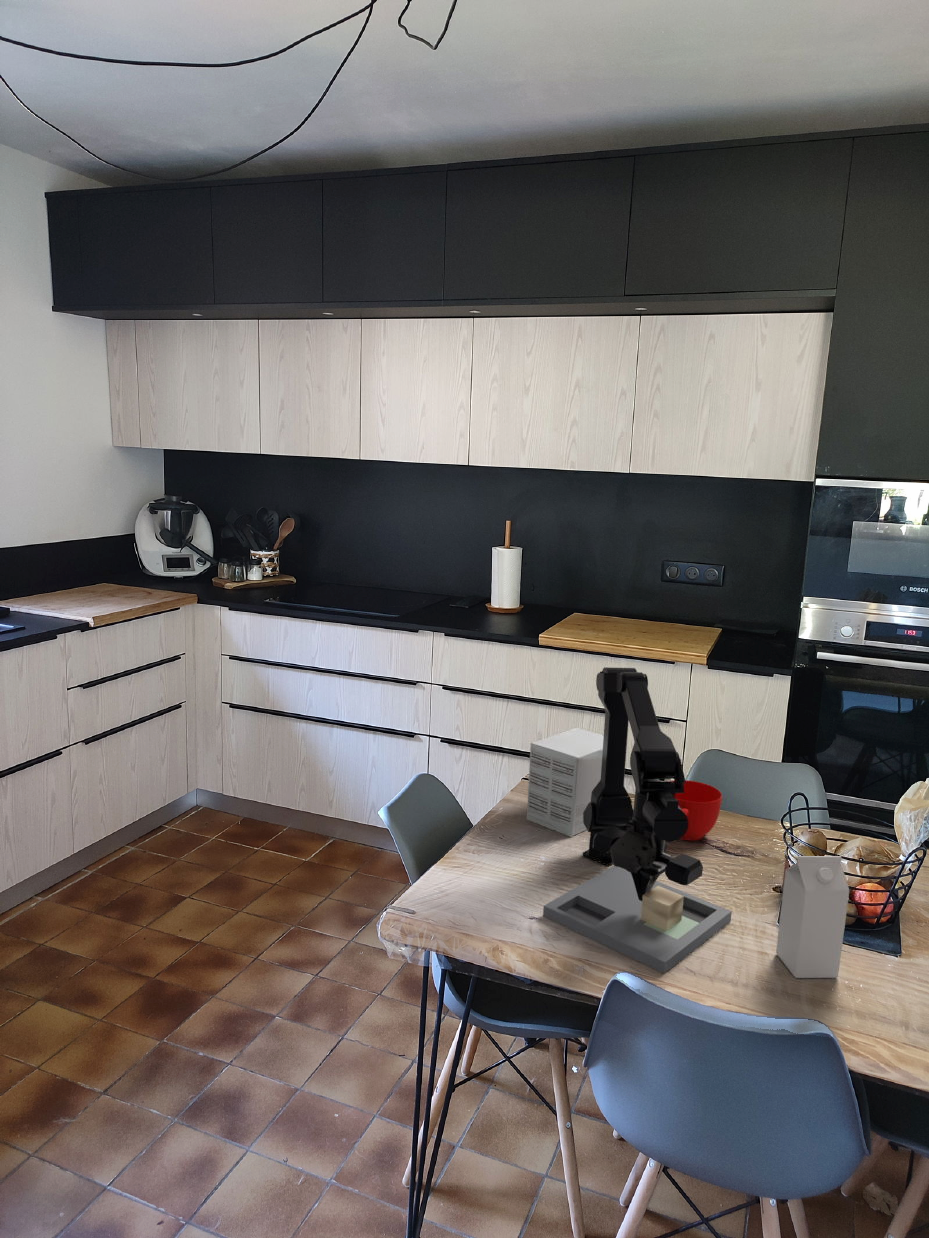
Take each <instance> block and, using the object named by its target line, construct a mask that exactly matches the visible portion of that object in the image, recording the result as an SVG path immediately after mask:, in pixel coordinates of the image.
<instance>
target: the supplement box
mask: <svg viewBox="0 0 929 1238" xmlns="http://www.w3.org/2000/svg"><path fill="white" fill-rule="evenodd" d="M603 738H604V734H603V735H602V734H600V733H596V732H592V731H590V730H589V731H588V730H585V729H583V728H579V727H574V728H571V729H569V730H566V731H563V732H560V733H557V734H555V735H554V734H553V735H551V736H548V737H545V738H542V739H540V740H536V741H534V742H530V749H529V750H530V751H529V752H530V753H529V766H528V767H529V771H528V772H529V773H528V787H527V808H526V809H527V811H526V820H527V821H530V822H533V823H535V824H537V825H540V826H542V827H544V826H545V828H548V829H550V830H551V831H554V830H555V831H554V832H557V833H560V834H562V835H563V836H564V835H565V836H567V837H570V838H572V837H573V836H576V835H578V834H580V833H583V832H585V831H588V830H587V829H586V827H585V825H584V823H583V812H584V810H585V809H586V807H587V805H588V803H589V802H591V793H592V791H593V789H594V788H595V787H596V785H597V784H598V783H599V781H600V780H601V767H602V753H603Z"/></svg>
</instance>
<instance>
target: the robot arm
mask: <svg viewBox="0 0 929 1238" xmlns="http://www.w3.org/2000/svg"><path fill="white" fill-rule="evenodd" d="M595 684H596V685H595V686H596V690H597V695H598V698H599V700H600V702H601V704H602V706H603V707H604V727H603V736H604V738H603V753H602V767H601V780H600V781H599V783H598V784H597V785H596V787H595V788H594V789H593V791H592V793H591V802H589V803H588V805H587V807H586V809H585V810H584V812H583V823H584V825H585V827H586V829H587V830H586V831H587V832H588V833H590V834H589V844H588V849H587V850H584V851H583V852H582V856H583V857H585V858H588V859H591V860H593V861H595V862H599V863H600V864H602V865H605V866H611V865H612V866H616V867H621V868H623V869H625V870H627V871H628V872H631V875H632V878H633V881H634V884H635V888H636V892H637V895H638V899H639V900H640V901H642V899H643V895H644V894H646V893H647V892H649V891H650V890H651V888H652V887H653V885H654V883H655V882H656V881H657V879H658V878H660V876H661V875H662V874H665V876H666V878H667V879H668V880H669V881H671V882H673V883H676V884H678V885H681V886H688V885H691V884H692V883H693V882H695V881H696V880H698V879H699V878H701V877H702V876H703V871H704V866H703V863H702V862H701V860H700V859H698V858H696V857H693V856H690V855H688V854H685V853H682V852H681V853H680V854H678V855H675V856H674V857H672V855H671V854H668V853H666V851H667V850H669V842H670V843H673V842H676V841H678V840H680V838H681V837H683V836H684V834H685V833H686V831H687V830H688V826H689V822H688V818H687V816H686V814H685V813H684V812H683V810H682V809H681V808H680V807H679V806H678V800H677V799H676V798H675V793H684V784H685V782H686V781H685V780H686V777H685V773H684V768H683V763H682V759H681V758H680V754H679V753H678V751H677V750H676V747H675V745H674V743H673V741H672V739H671V737H669V736H668V735H667V734H665V733H664V732H663V731H662V730H661V727H660V725H659V721H658V717H657V715H656V712H655V708H654V705H653V701H652V698H651V694H650V691H649V678H648V675H647V673H643V672H638V670H637V669H636V668H635V667H605V666H604V667H603V668H602V671H601V670H600V672H598V673H597V674H596V680H595ZM629 726H630V729H631V734H632V737H633V742H634V744H633V745H632V746H633V747H632V749H631V751H630V756H629V758H630V759H629V765H630V771H631V775H632V779H633V780H632V781H633V783H634V787H635V789H634V802H632V798H631V797H630V795H629V793H628V791H627V789H626V787H625V773H626V759H627V747H628V734H629V733H628V732H629ZM672 779H673V781H675V782H669V781H661V780H672ZM632 803H633V804H632Z"/></svg>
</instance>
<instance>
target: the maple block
mask: <svg viewBox="0 0 929 1238" xmlns="http://www.w3.org/2000/svg"><path fill="white" fill-rule="evenodd" d="M683 899H684V896H682V895H680V894H677V893H675V892H672V891H670V890H667V889H665V888H663V887H660V886H657V887H655V888H654V889H652V890H650V891H649V892H647V893H646V894H644V895H643V899H642V911H641V920H643V921H645V922H647V923H650V924H652V925H654V926H656V927H659V928H661V929H663V930H666V931H667V930H669V929H670V928H671V927H673V926H674V925H676V924H677V923H679V922H680V921H681V920H682V910H683Z"/></svg>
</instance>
